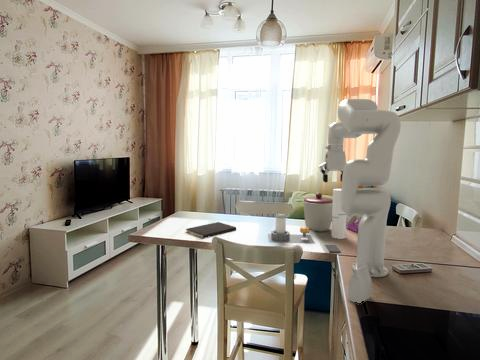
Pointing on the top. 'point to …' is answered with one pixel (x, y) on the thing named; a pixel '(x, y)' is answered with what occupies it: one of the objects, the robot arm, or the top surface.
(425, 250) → the top surface
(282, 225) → the cylinder
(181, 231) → the top surface
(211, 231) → the hardcover book
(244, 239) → the top surface
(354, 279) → the white doll dress
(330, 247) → the mat
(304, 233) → the plunger
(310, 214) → the canister
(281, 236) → the plate
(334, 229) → the cylindrical container
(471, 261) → the top surface
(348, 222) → the candy bar box
